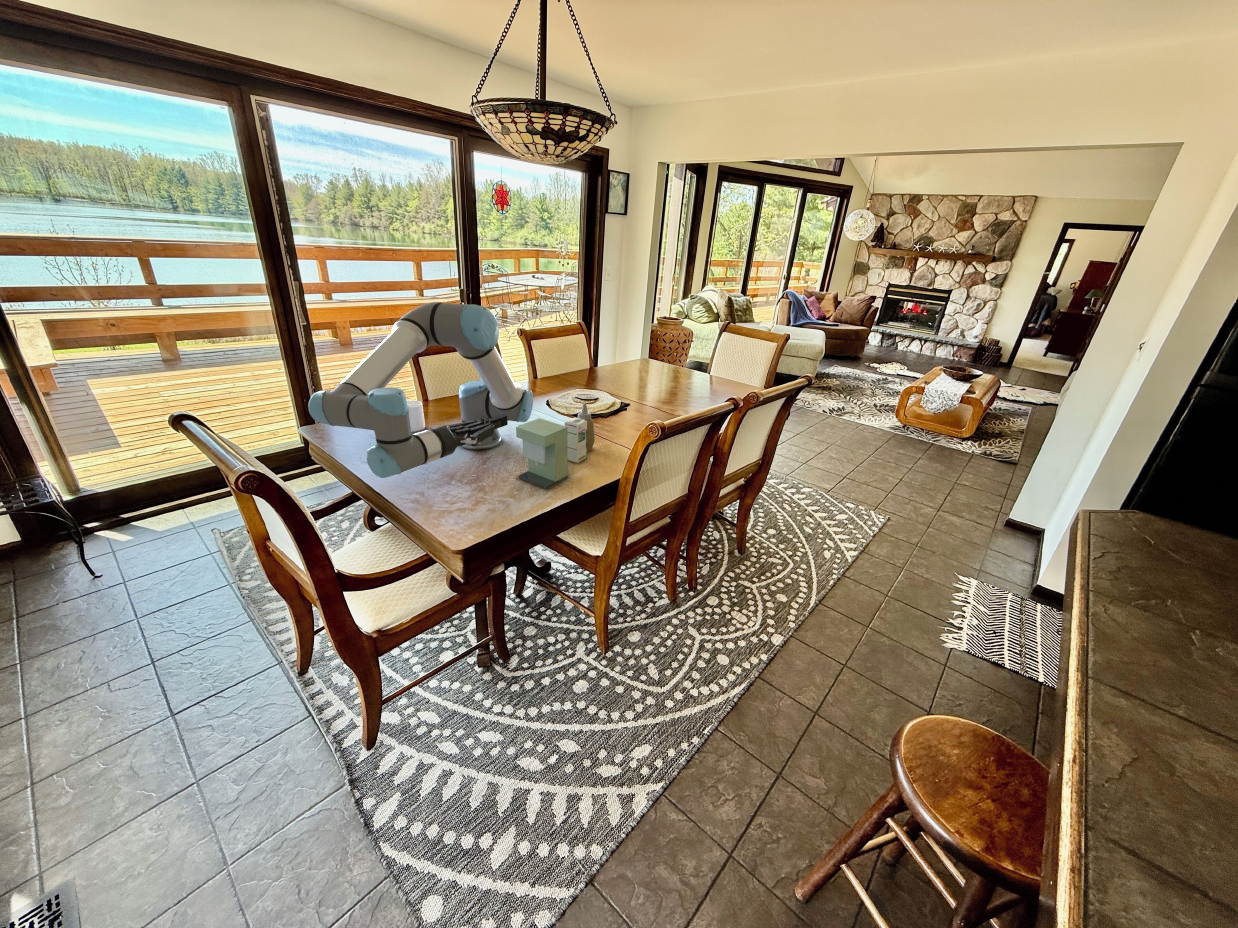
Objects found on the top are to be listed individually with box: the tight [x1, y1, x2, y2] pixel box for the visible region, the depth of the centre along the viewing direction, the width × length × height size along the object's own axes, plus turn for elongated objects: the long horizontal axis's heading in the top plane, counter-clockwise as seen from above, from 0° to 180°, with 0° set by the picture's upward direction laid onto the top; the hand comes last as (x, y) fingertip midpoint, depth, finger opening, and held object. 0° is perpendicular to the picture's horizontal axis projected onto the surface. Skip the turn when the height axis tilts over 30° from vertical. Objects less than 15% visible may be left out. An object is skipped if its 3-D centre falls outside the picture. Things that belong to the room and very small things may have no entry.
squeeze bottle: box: [577, 402, 596, 453], centre depth 175 cm, size 8×8×18 cm
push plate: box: [521, 439, 546, 464], centre depth 149 cm, size 1×9×6 cm, turn 56°
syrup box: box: [564, 416, 588, 464], centre depth 169 cm, size 6×6×14 cm
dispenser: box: [515, 417, 569, 490], centre depth 153 cm, size 10×12×18 cm
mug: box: [406, 400, 426, 433], centre depth 188 cm, size 12×8×10 cm
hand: (505, 419), depth 135 cm, fingers closed
